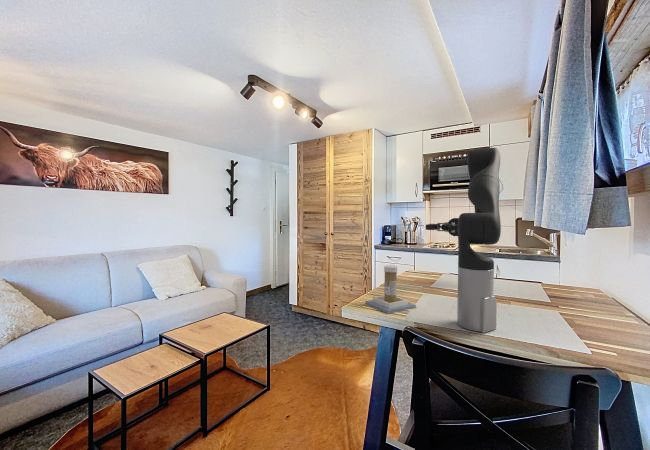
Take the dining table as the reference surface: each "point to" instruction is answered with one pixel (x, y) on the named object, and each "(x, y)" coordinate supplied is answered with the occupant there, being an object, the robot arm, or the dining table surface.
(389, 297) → the sprinkles bottle
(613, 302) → the dining table surface
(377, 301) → the grey stepped square plate
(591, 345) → the dining table surface
